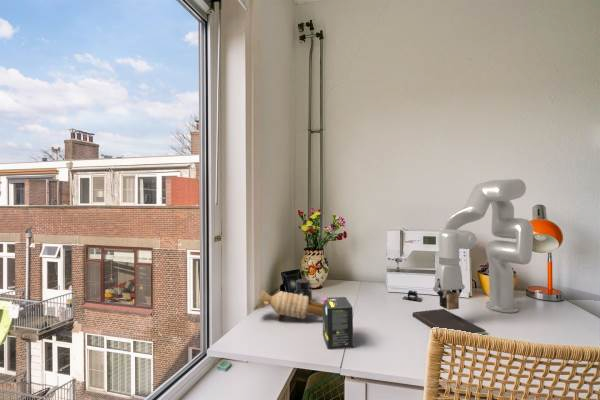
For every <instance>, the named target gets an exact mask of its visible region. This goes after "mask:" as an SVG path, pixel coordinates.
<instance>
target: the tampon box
mask: <svg viewBox="0 0 600 400" xmlns="http://www.w3.org/2000/svg"><path fill="white" fill-rule="evenodd" d="M322 304H323V317H322V337H323V340H324V342H325V343H324V344H325V346H326V348H327V350H330V349H351V348H352V349H354V327H353V326H354V324H353V323H354V322H353V321H354V316H353V315H354V314H353V313H354V312H353V311H354V310H353V306H352V304H351V302H350V301H349V300H348V298H347V297H346V296H337V297H334V296H333V297H322Z"/></svg>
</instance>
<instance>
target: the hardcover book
mask: <svg viewBox="0 0 600 400" xmlns="http://www.w3.org/2000/svg"><path fill="white" fill-rule="evenodd" d="M411 316H412V317H413V318H415V319H416V320H418V321H419V322H421V323H423V325H426V326H427V327H428V328H430V329H432V328H433V327H439V328H447V329H454V330H461V331H466V332H471V333H478V334H484V335H485V332H486V331H487V330H486V329H484V328H482V327H481V326H478V325H477V324H474V323H473V322H470V321H468V320H466V319H465V318H463V317H460V316H458V315H456V314H455V313H453V312H451V311H450V310H448V309H446V308H438V309H431V310H430V309H429V310H421V311H414V312H412V315H411Z"/></svg>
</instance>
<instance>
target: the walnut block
mask: <svg viewBox="0 0 600 400" xmlns="http://www.w3.org/2000/svg"><path fill="white" fill-rule="evenodd" d="M442 293H443V291H442ZM445 298H447V308H444V307H442V306H440V307H442V309H445V310H447V311H451V310H458V309H460V307H459V306H460V305H459V304H460V302H459V301H460V296H459V294H458V293H455V292H452V290H448V291H447V292H446V297H445Z"/></svg>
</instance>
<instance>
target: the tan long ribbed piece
mask: <svg viewBox="0 0 600 400" xmlns="http://www.w3.org/2000/svg"><path fill="white" fill-rule="evenodd" d="M269 305H270V306H271V309H273V311H274V312H275V314H277V315H279V316H278V321H280V322H284V320H285V316H286V317H287V316H288V317H292V318H294V317H295V318H296V319H295V320H298V319H301V320H305V319H306V317H307V314H309V315H310V314H311V315H315V316H318V317H322V318H323V303H321V302H317V301H313V300H312V301H310V300H309V297H308V296H303V295H298V294H294V292H287V291H283V290H280V291H278V292H277V293H276V294H274V295H270V294H269V293H268V292H267V291H266V290H264V289H263V288H262V289H261V291H260V296H259V300H258V306H257V307H258V309H261V308H264V307H266V306H269Z"/></svg>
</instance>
